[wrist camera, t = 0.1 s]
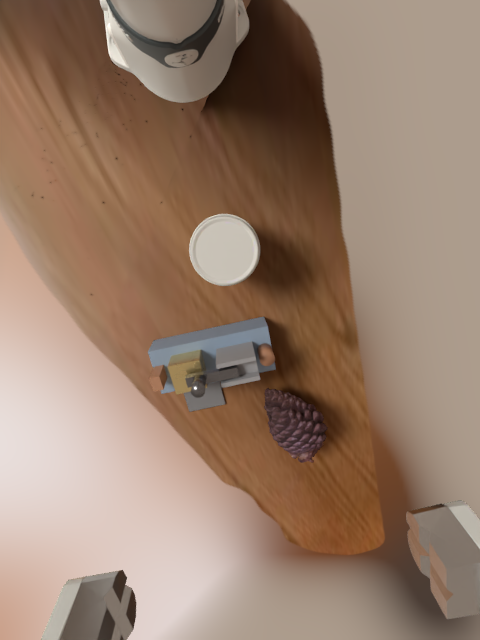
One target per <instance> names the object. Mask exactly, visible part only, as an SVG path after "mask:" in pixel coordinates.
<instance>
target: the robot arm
mask: <svg viewBox="0 0 480 640" xmlns="http://www.w3.org/2000/svg"><path fill="white" fill-rule="evenodd" d="M100 4H101V7H102V9H103V11H104V18H105V27H106V35H107V44H108V52H109V55H110V58H111V60H112V61H113V62H114V63H115V64H116V65H117V66H119V67H121V68H123V69H125V70H127V71H129V72H131V73H133V74H134V75H135V76H136V77H138V78H139V80H140V81H141V82H142V83H143V84H144V85H145V86H146V87H147V88H148V89H149V90H151V91H152V92H153V93H155V94H156V95H158V96H160V97H162V98H164V99H166V100H170V101H174V102H192V101H196V100H199V99H201V98H203V97H205V96H207V95H208V94H210V93H211V92H212V91H214V90H215V89H216V88H217V87H218V85H219V84H220V83H221V82H222V80H223V79H224V77H225V75H226V73H227V71H228V69H229V66H230V63H231V60H232V57H233V54H234V52H235V50H236V48H237V47H238V46H239V45H240V44H241V42H242V41H243V40H244V39H245V37H246V36H247V34H248V32H249V19H248V16H247V13H246V10H245V7H244V4H243V1H242V0H100ZM238 13H239V14H240V16H239V17H238ZM406 516H407V517H406V518H407V522H408V524H409V526H410V530H409V531H408V532H407V534H408V542H409V546H410V549H411V552H412V555H413V557H414V559H415V561H416V563H417V565H418V567H419V569H420V571H421V572H422V573H423V574H425V575H426V576H427V577H429V578H430V582H431V591H432V593H433V595H434V597H435V598H436V600H437V602H438V604H439V606H440V608H441V609H442V611H443V613H444V614H445V617H446V618H447V619H451V618H457V617H464V616H470V615H476V614H480V519H479V518H478V517H477V516H476V514H475V513H474V512H473V511H472V509H471V508H470V507H469V506H468V505H467V503H465V502H464V501H462V500H459V501H455V502H450V503H446V504H437V505H433V506H428V507H424V508H420V509H415V510H411V511H408V512H407V514H406ZM126 580H127V577H126V575H125V574H124V571H123V570H120V571H115V572H109V573H104V574H98V575H93V576H86V577H82V578H77V579H71V580H68V581H67V582H66V584H65V585H64V586H63V588H62V591H61V593H60V595H59V598H58V600H57V602H56V605H55V607H54V609H53V612H52V614H51V617H50V619H49V622H48V624H47V626H46V629H45V631H44V634H43V636H42V638H41V640H126V639H127V638H128V637H129V635H130V634H131V632H132V631H133V628H134V623H135V618H136V600H135V594H134V592H133V590H132V588H130V587H128V586H127V585H125V584H126Z"/></svg>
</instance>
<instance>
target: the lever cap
mask: <svg viewBox="0 0 480 640" xmlns="http://www.w3.org/2000/svg"><path fill="white" fill-rule="evenodd" d="M168 370H169V373H170V376H171V379H172V382H173V386H174V389H175V392H176V394H181V393H185V392H190V391H191V388H192V387H189V388H188V387H187V383H186V380H185V377H186V375H187V374H192V373H197V372H201V371H206V367H205V363H204V359H203V356H202V352H201V349H200V350H196V351H191V352H186V353H182V354H177V355H172V356H171V358H170V361H169V364H168ZM206 388H207V384H206Z"/></svg>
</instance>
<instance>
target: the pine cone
mask: <svg viewBox="0 0 480 640" xmlns="http://www.w3.org/2000/svg"><path fill="white" fill-rule="evenodd" d="M264 408H265V410H266V411H267V415H268V417H269V422H268V424H269V427H270V433H271V434H272V436H273V439H274V440H275V441H277V442H278V445H279V446H281V447H283V448H284V450H286V451H288V452H289V454H290V455H291V456H292V458H295V459H296V458H297V457H298V456H299V458H298V461H300V462H306V461H310V462H314V460H312V457H314V456H315V454H316V453H317V451H318V450H319V449H320V447H322V446H323V444H324V443H323V441H324V440H325V439H326V435H325V433H324V432H325V431H326V430H327V429H328V428H327V426H326V425H325V424H324V423H322V422H323V420H324V418H323V415H322V413H321V412H319V411H316V408H315V406H314V405H313V404H311V405H310V404H306V403H305V402H304V401H303V400H302V399H301V398H297V397H296V396H295V395H291V394H290V393H289V392H288V393H284V392H283V391H280V390H276V389H272V390H270V389H269V388H267V389H266V390H265V406H264Z"/></svg>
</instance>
